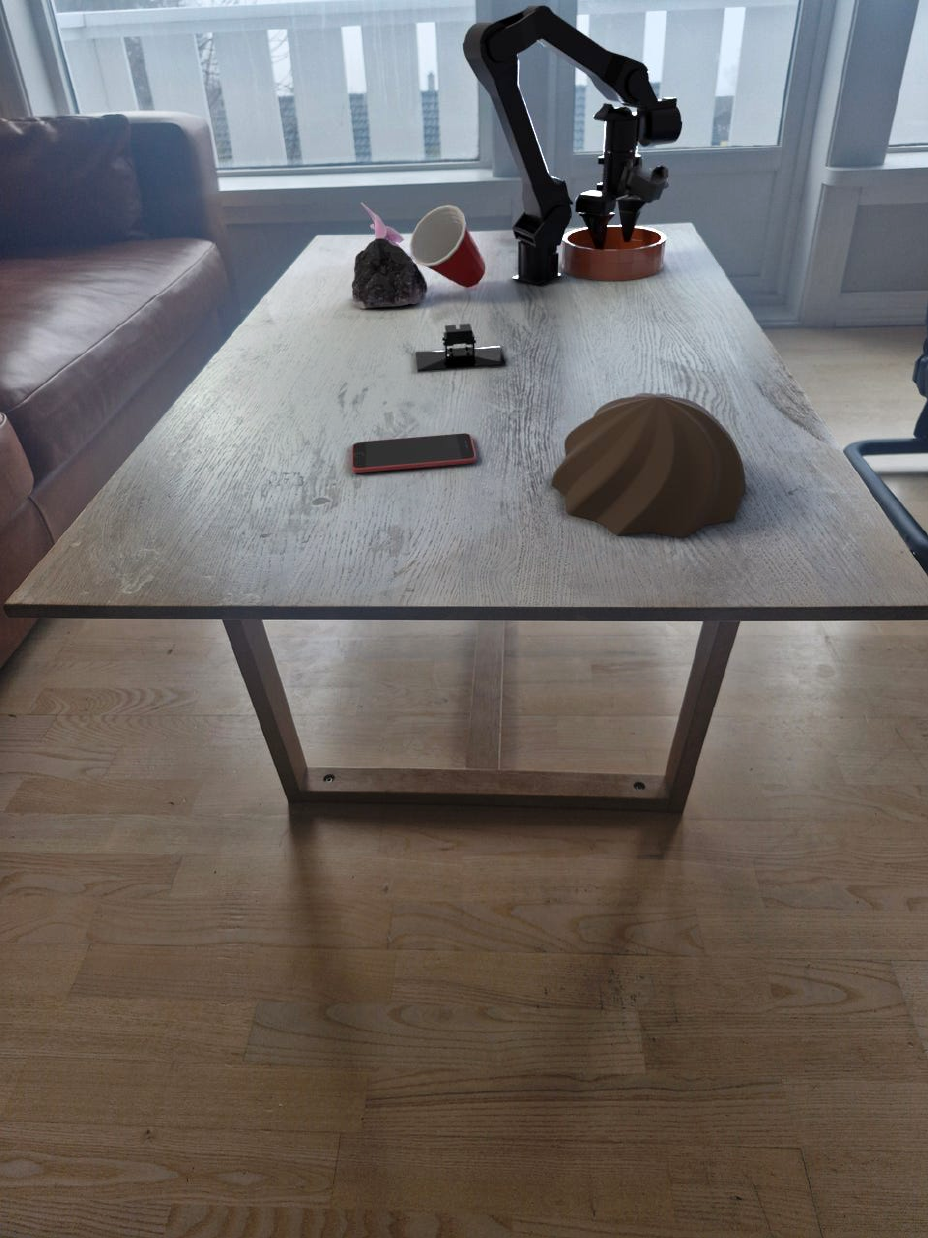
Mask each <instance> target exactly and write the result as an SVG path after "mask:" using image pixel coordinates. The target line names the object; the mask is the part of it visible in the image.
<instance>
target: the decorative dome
mask: <svg viewBox="0 0 928 1238" xmlns="http://www.w3.org/2000/svg"><path fill="white" fill-rule="evenodd" d="M563 447H564V453H565V458H564V459H563V460H562V462H561V463H560V465H558V467H557V468H556V470H555V471H554V472H553V476H552V480H551V486H552V487H553V489H555V490H556V491H557V492H559V494H561V495H562V496H563V497H564V498H565V512H566V514H568V515H569V516H575V517H578V518H582V519H587V520H591V521H594V522H597V523H598V524H600V525H601V526H603V527H604V528H605V529H607V530H608V531H610V532H611V533H613V534H614V535H615V536H627V535H638V534H639V535H640V534H648V533H649V534H650V533H651V534H656V535H657V534H658V535H661V536H662V535H663V536H669V537H675V538H688V537H689V536H691V535H692V534H694V533H695V532H697V531H698V530H700V529H701V528H703V527H704V526H709V525H715V524H716V525H717V524H721V523H727V522H732V521H734V520H735V518H736V515H737V512H738V508H739V505H740V501H741V497H742V496H743V495H745V494H746V493H747V485H746V484H747V483H746V475H745V474H746V473H745V469H744V464H743V461H742V457H741V455H740V451H739V449H738V447H737V445H736V443H735V440H734V439H733V438H732V436H731V435H730V433H729V432H728V431H727V429H726V428H725V427H724V426H723V424H722V423H721V422H720V421H719V420H718V419H717V418H716V417H715V416H714V414H713V415H712V413H711V412H710V411H708V410H707V409H706V408H704V406H702V405H700V404H698V403H697V402H694V401H693V400H690V399H688V398H684V397H680V396H679V397H678V396H674V395H672V394H669V393H667V392H660V393H650V392H640V393H637V394H634V395H632V396H627V397H621V398H617V399H614V400H611V401H609V402H606V403H605V404H603V405H602V406H600V407H599V408H598V409H597V410H596V411H595V413H594V414H593V416H592V417H590V418H588V419H587V420H585V421H584V422H582V423H580V424H579V425H577V426H576V427H575V428H574V429H573V430H571V431H570V433H568V434H567V435H566V437H565V440H564V446H563Z"/></svg>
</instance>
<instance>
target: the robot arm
mask: <svg viewBox="0 0 928 1238" xmlns="http://www.w3.org/2000/svg"><path fill="white" fill-rule="evenodd" d="M535 43H539V44H540V45H541V46H543V47H544V48H546V49H548V50H549V51H551V52H552V53H553V54H555V55H557V56H558V57H559V58H561V59H563V60H564V61H566V62H567V63H568V64H570V65H571V66H573V67H575V68H576V69H578V70H579V71H581V72H582V73H583V74H585V75H586V76H587V77H588V78H589V79H590V82H592V84H593V86H594V88H596V90H597V91H599V93H600V94H601V95H602V96H603V97H604V98H605V99H606V100H608V101H610V102H614V103H620V104H621V105H622V106H619V107H614V106H613V104H612V103H607V102H603V104H602V106H601V108H600V109H599V110H598V111H597V112H596V113H595V114H594V115H593V120H595V121H599V122H604V136H603V153H602V154H603V155H602V156H598V158H597V165H601V166H602V170H601V171H602V172H601V182H600V183H596V190H588V191H584V192H582V193H579V194H578V195H577V197H576V198H575V199H574V202H573V200H572V199H571V197H570V196H569V195H570V194H569V191H568V185H567V183H566V181H565V180H563V179H560V178H557V177H556V176H555V177H554V176H552V175H551V174H550V172H549V169H548V166H547V163H546V161H545V157H544V155H543V152H542V148H541V146H540V143H539V140H538V137H537V134H536V132H535V128H534V125H533V123H532V122H533V121H532V119H531V116H530V113H529V111H528V108H527V105H526V103H525V99H524V97H523V93H522V91H521V87H520V83H519V75H520V74H519V73H520V71H519V70H520V60H519V55H518V54H520V53H522V52H524V51H526V50H528V49H529V48H530V47H532V46H533V45H534V44H535ZM462 51H463V56H464V59H465V60H466V62H467V64H468V65H469V67H470V69H471V71H472V72H473V75H474V77H475V78H476V79H477V80H478V82H479V83H480V85H482V86H483V88H484V89H485V90H486V92H487V94H488V95H489V96H490V99H491V101H492V104H493V106H494V109H495V112H496V114H497V117H498V120H499V122H500V126H501V129H502V131H503V134H504V136H505V140H506V143H507V144H508V147H509V150H510V153H511V156H512V158H513V161H514V164H515V166H516V169H517V171H518V174H519V178H520V180H521V184H522V190H521V192H522V193H521V201H522V207H523V212H522V214H521V215H520V216H519V217H518V219H517V220H516V221H515V222H514V224H513V225H512V227H511V229H512V232H513V236H514V238H515V240H519V241H518V242H517V275H514V276H513V277H512V281H515V282H521V283H526V284H531V285H537V286H543V285H546V284H548V283H550V282H553V281H556V280H557V279H559V278H562V273H559V259H560V258H559V255H560V254H559V251H558V247H559V246H561V245H562V243H563V237H564V235H565V232H566V229H567V228H568V226H569V225H570V221H571V220H572V217H573V212H572V211H573V210H572V206H573V205H574V213H578V216H579V217H581V218H582V220H583V222H584V225H585V228H587V229H588V231H589V234H590V236H591V239H592V241H593V244H594V246H595V249H604V247H605V241H606V234H607V227H608V226H609V222H610V221H612V219H613V218H614V217H615V216H616V212H614V210H616V207H618V208H617V209H618V214H619V222H620V225H621V229H622V235H623V240H624V242H630V240H631V237H632V234H633V231H634V229H635V226H637V223H638V220H639V217H640V215H641V213H642V211H643V209H644V208H645V207H647V206H648V205H649V204H652V203H653V202H655V201H659V200H661V197H662V195H663V192H664V190H666V189H668V188H669V185H670V184H669V167H668V166H665V165H664V164H660V165H658V166H655V168H654V169H652V167H651V168H646V167H644V166H643V161H644V159H643V156H642V154H641V155H640V154H638V147H639V145H640V146H641V147H643V148H646V147H652V146H653V147H654V146H663V145H669V144H674V143H676V142H677V141H678V140H679V138H680V136H681V134H682V129H683V120H682V115H681V111H680V109H679V107H678V106H677V105H678V99H677V97H671V96H667V97H663V98H661V99H658V97H657V95H656V93H655V91H654V89H653V87H652V84H651V82H650V76H649V75H650V74H649V72H650V70H649V69H648V67H647V66H646V64H645V63H644V62H642V61H639V60H636V59H634V58H631V57H629V56H627V55H622V54H619V53H617V52H613V51H610V50H608V49H606V48H604V47H603V46H602V45H600V44H599V43H597V42H596V41H595V40H593V39H591V38H590V37H589V36H587V35H586V34H585V33H583V32H581V31H580V30H579V29H577V28H575V27H574V26H573V25H572V24H571V23H569V22H568V21H566V20H564V19H563V18H561V17H560V16H558V15H557V14H556V13H555V12H553V10H552V9H551V8H550V6H547V5H544V4H543V5H541V4H538V5H535V4H534V5H529V6H526V8H524V9H522V10H520V11H518V12H516V13H515V14H514V13H513V14H511V15H508V16H506V17H504V18H500V19H498V20H496V21H495V20H494V21H493V22H476V23H474V24H472V25H471V26H470V27H469V28H468V30H467V31H466V33H465V35H464V39H463V43H462ZM631 108H635V109H636V111H632V110H631Z"/></svg>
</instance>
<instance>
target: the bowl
mask: <svg viewBox="0 0 928 1238" xmlns="http://www.w3.org/2000/svg"><path fill="white" fill-rule="evenodd" d="M666 243H667V237H666V235H665V234H664V233H663V232H661V231H658V230H656V229H654V228H649V227H643V226H637V225H636V226H635V229H634V231H633V234H632V237H631V240H630V242H624V240H623V235H622V229H621V224H619V225H613V224H612V225H609V224H608V227H607V234H606V241H605V247H604V249H595V246H594V244H593V241H592V239H591V236H590V234H589V231H588V229H587V227H583V228H579V229H574V230H572V231H569V232H567V233H565V234H564V235H563V239H562V249H561V250H562V251H561V254H562V256H561V268H562V271H563V272H565V273H566V274H568V275H570V276H572V277H576V278H580V279H584V280H585V279H586V280H593V281H606V282H607V281H608V282H609V281H611V282H613V281H614V282H615V281H616V282H617V281H631V280H632V281H633V280H638V279H643V278H647V277H651V276H653V275H657V274H658V273H659V272H660V271H662V269H663V265H664V258H665V249H666Z"/></svg>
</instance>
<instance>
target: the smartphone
mask: <svg viewBox="0 0 928 1238" xmlns="http://www.w3.org/2000/svg"><path fill="white" fill-rule="evenodd" d="M350 457H351V458H350V460H351V461H350V469H351V471H352V472H353V473H357V474H362V473H374V472H384V471H385V472H387V471H398V470H410V469H420V468H431V467H432V468H433V467H444V466H455V465H466V464H467V465H468V464H473V463H475V462H476V460H477V453H476V449H475V445H474V441H473V437H472V435H471V434H469V433H464V432H463V433H452V434H440V435H439V434H438V435H428V436H427V435H426V436H416V437H403V438H392V439H381V440H368V441H358V442H355V443H353V444H352V445H351V455H350Z"/></svg>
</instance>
